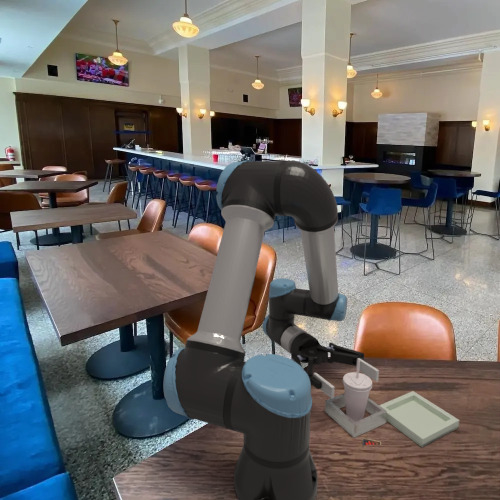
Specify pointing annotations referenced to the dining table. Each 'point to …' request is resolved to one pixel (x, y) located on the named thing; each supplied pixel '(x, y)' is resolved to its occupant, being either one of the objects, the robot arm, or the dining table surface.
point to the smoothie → (356, 393)
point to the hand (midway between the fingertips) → (356, 384)
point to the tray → (419, 418)
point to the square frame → (347, 423)
